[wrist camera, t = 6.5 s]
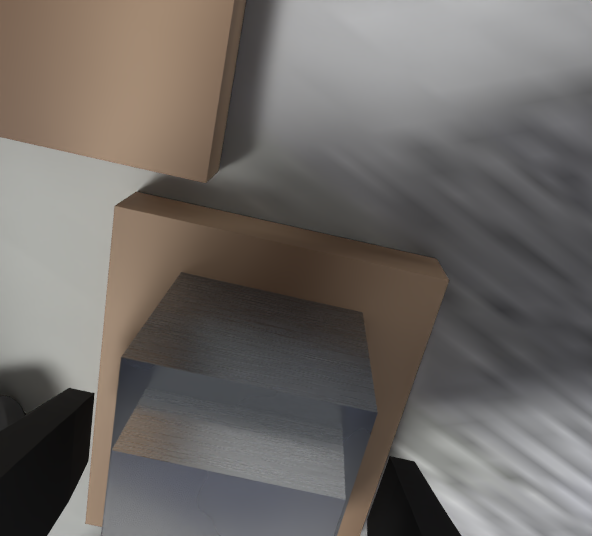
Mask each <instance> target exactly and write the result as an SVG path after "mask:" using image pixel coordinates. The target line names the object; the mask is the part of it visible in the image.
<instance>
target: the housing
mask: <svg viewBox="0 0 592 536" xmlns="http://www.w3.org/2000/svg"><path fill="white" fill-rule="evenodd" d="M377 414H378V411H377V405H376V398H375V391H374V385H373V378H372V371H371V365H370V358H369V351H368V345H367V338H366V331H365V325H364V318H363V312H359V311H354V310H350V309H345V308H341V307H336V306H332V305H327V304H323V303H318V302H314V301H309V300H305V299H300V298H296V297H291V296H287V295H282V294H278V293H273V292H269V291H264V290H260V289H255V288H251V287H246V286H242V285H237V284H233V283H228V282H224V281H219V280H215V279H210V278H206V277H201V276H197V275H192V274H188V273H183V272H181V273H180V275H179V276H178V277H177V279H176V280H175V282H174V283H173V284H172V286H171V287H170V289H169V290H168V291H167V293H166V294H165V296H164V297H163V299H162V300H161V301H160V303H159V304H158V306H157V307H156V308H155V310H154V311H153V313H152V314H151V316H150V317H149V318H148V320H147V321H146V323H145V324H144V325H143V327H142V328H141V330H140V331H139V332H138V334H137V335H136V337H135V338H134V340H133V341H132V342H131V344H130V345H129V347H128V348H127V349H126V351H125V352H124V354H123V355H122V357H121V362H120V371H119V380H118V389H117V398H116V407H115V416H114V425H113V434H112V443H111V451H110V460H109V469H108V478H107V487H106V496H105V505H104V514H103V523H102V532H101V536H337V534H338V531H339V528H340V525H341V522H342V519H343V516H344V513H345V510H346V507H347V504H348V501H349V498H350V495H351V492H352V489H353V486H354V483H355V480H356V477H357V474H358V471H359V468H360V465H361V462H362V459H363V456H364V453H365V450H366V447H367V444H368V441H369V438H370V435H371V432H372V429H373V426H374V423H375V420H376V417H377Z"/></svg>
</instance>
